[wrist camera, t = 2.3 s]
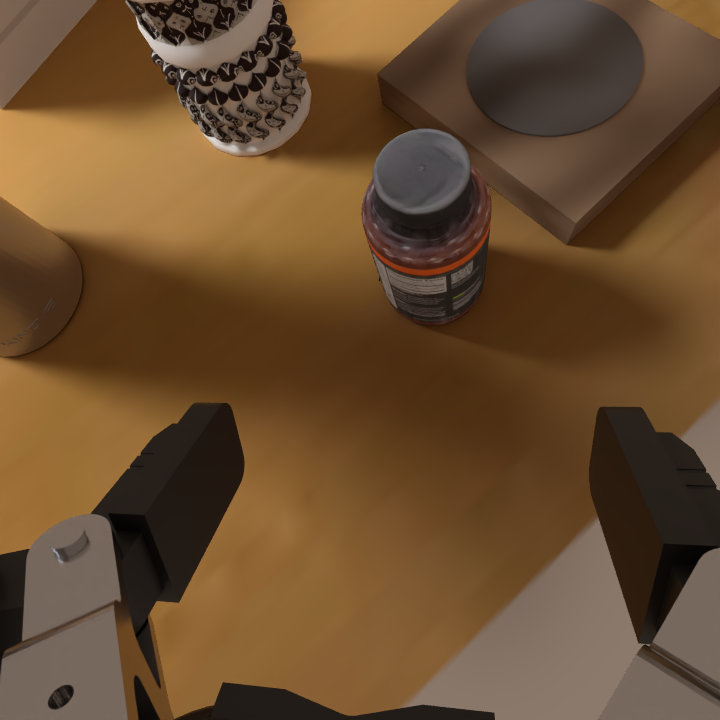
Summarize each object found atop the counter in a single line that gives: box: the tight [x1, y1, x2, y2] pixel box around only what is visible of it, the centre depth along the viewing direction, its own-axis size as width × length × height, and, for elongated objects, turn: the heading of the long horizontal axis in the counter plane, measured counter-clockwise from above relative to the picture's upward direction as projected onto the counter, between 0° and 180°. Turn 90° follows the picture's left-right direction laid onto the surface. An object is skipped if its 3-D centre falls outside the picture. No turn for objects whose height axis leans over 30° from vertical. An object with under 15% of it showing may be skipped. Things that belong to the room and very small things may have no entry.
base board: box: [377, 0, 720, 245], centre depth 33 cm, size 16×14×3 cm
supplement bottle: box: [362, 129, 491, 325], centre depth 26 cm, size 6×6×11 cm
